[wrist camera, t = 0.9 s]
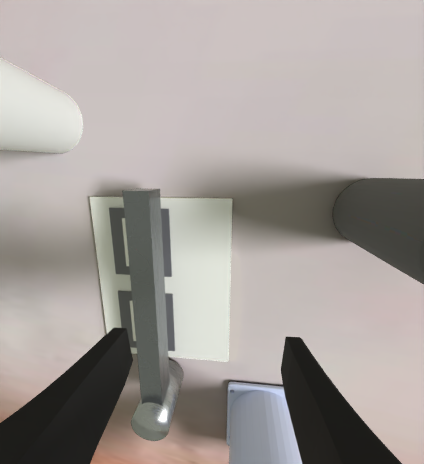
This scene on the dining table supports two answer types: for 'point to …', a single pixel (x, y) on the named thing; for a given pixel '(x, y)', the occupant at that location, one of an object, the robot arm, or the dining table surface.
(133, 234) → the swing arm
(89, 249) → the dining table surface
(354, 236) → the bottle
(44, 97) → the white tumbler
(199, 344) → the label board
